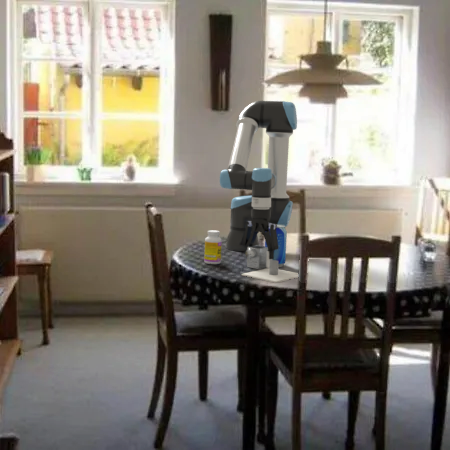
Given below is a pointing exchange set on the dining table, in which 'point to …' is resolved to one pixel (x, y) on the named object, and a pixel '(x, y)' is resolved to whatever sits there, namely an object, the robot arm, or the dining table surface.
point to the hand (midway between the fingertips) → (259, 265)
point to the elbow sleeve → (256, 256)
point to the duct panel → (271, 277)
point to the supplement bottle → (213, 248)
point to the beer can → (280, 245)
